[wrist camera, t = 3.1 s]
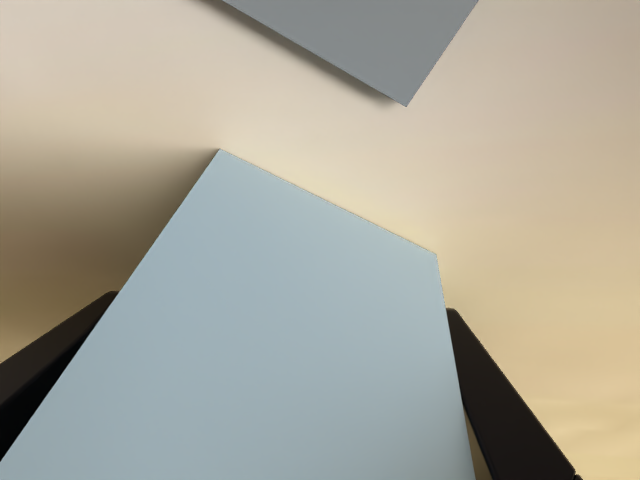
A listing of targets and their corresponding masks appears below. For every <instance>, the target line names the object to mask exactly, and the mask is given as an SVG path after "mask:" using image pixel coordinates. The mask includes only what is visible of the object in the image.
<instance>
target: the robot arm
mask: <svg viewBox="0 0 640 480" xmlns="http://www.w3.org/2000/svg"><path fill="white" fill-rule="evenodd" d="M119 292H120V291H110V292H108V293H106V294H104V295H103V296H101V297H100V298H98V299H97V300H95V301H94V302H92V303H91V304H89V305H88V306H86V307H85V308H83V309H82V310H80V311H79V312H77V313H76V314H74V315H73V316H71V317H70V318H68V319H67V320H65V321H64V322H62V323H61V324H59V325H58V326H56V327H55V328H53V329H52V330H50V331H49V332H47V333H46V334H44V335H43V336H41V337H40V338H38V339H37V340H35V341H34V342H32V343H31V344H29V345H28V346H26V347H25V348H23V349H22V350H20V351H19V352H17V353H16V354H14V355H13V356H11V357H10V358H8V359H7V360H5V361H4V362H2V363H1V364H0V462H1V460H2V459H3V457H4V456H5V454H6V453H7V452H8V450H9V449H10V447H11V446H12V444H13V443H14V442H15V440H16V439H17V437H18V436H19V434H20V433H21V432H22V430H23V429H24V427H25V426H26V425H27V423H28V422H29V420H30V419H31V417H32V416H33V415H34V413H35V412H36V410H37V409H38V407H39V406H40V405H41V403H42V402H43V400H44V399H45V397H46V396H47V395H48V393H49V392H50V390H51V389H52V387H53V386H54V385H55V383H56V382H57V380H58V379H59V377H60V376H61V375H62V373H63V372H64V370H65V369H66V368H67V366H68V365H69V363H70V362H71V360H72V359H73V358H74V356H75V355H76V353H77V352H78V350H79V349H80V348H81V346H82V345H83V343H84V342H85V340H86V339H87V338H88V336H89V335H90V333H91V332H92V330H93V329H94V328H95V326H96V325H97V323H98V322H99V320H100V319H101V318H102V316H103V315H104V313H105V312H106V310H107V309H108V308H109V306H110V305H111V303H112V302H113V301H114V299H115V298H116V296H117V295H118V293H119ZM446 313H447V319H448V325H449V331H450V336H451V342H452V348H453V353H454V359H455V365H456V371H457V376H458V382H459V388H460V393H461V399H462V405H463V410H464V416H465V422H466V428H467V433H468V439H469V445H470V450H471V456H472V462H473V468H474V473H475V479H476V480H583V479H582V478H581V476H580V475H577V474H576V475H575V473H576V471H575V469H574V467H573V466H572V465H571V463H570V462H569V461H568V459H567V458H566V457H565V455H564V454H563V453H562V451H561V450H560V449H559V447H558V446H557V445H556V443H555V442H554V441H553V439H552V438H551V437H550V435H549V434H548V433H547V431H546V430H545V428H544V427H543V426H542V424H541V423H540V422H539V420H538V419H537V418H536V416H535V415H534V414H533V412H532V411H531V410H530V408H529V407H528V406H527V404H526V403H525V402H524V400H523V399H522V398H521V396H520V395H519V394H518V392H517V391H516V390H515V388H514V387H513V386H512V384H511V383H510V382H509V380H508V379H507V378H506V376H505V375H504V374H503V372H502V371H501V370H500V368H499V367H498V366H497V364H496V363H495V362H494V360H493V359H492V358H491V356H490V355H489V353H488V352H487V351H486V349H485V348H484V347H483V345H482V344H481V343H480V341H479V340H478V339H477V337H476V336H475V335H474V333H473V332H472V331H471V329H470V328H469V327H468V325H467V324H466V323H465V321H464V320H463V319H462V317H461V316H460V315H459V313H458V312H457V311H456V310H455V309H453V308H446Z"/></svg>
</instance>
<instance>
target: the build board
mask: <svg viewBox="0 0 640 480" xmlns="http://www.w3.org/2000/svg"><path fill="white" fill-rule="evenodd" d="M222 1H224V2H226V3H227V4H229V5H231V6H233V7H234V8H236V9H238V10H240V11H241V12H243V13H245V14H246V15H248V16H250V17H252V18H253V19H255V20H257V21H259V22H260V23H262V24H264V25H265V26H267V27H269V28H271V29H272V30H274V31H276V32H277V33H279V34H281V35H283V36H284V37H286V38H288V39H290V40H291V41H293V42H295V43H296V44H298V45H300V46H302V47H303V48H305V49H307V50H309V51H310V52H312V53H314V54H315V55H317V56H319V57H321V58H322V59H324V60H326V61H328V62H329V63H331V64H333V65H334V66H336V67H338V68H340V69H341V70H343V71H345V72H346V73H348V74H350V75H352V76H353V77H355V78H357V79H359V80H360V81H362V82H364V83H365V84H367V85H369V86H371V87H372V88H374V89H376V90H378V91H379V92H381V93H383V94H384V95H386V96H388V97H390V98H391V99H393V100H395V101H397V102H398V103H400V104H402V105H403V106H405V107H407V105H408V104H409V102H410V101H411V99H412V98H413V96H414V95H415V93H416V92H417V90H418V89H419V88H420V86H421V85H422V83H423V82H424V80H425V79H426V77H427V76H428V74H429V73H430V71H431V70H432V68H433V67H434V65H435V64H436V62H437V61H438V59H439V58H440V56H441V55H442V53H443V52H444V51H445V49H446V48H447V46H448V45H449V43H450V42H451V40H452V39H453V37H454V36H455V34H456V33H457V31H458V30H459V28H460V27H461V25H462V24H463V22H464V21H465V19H466V18H467V17H468V15H469V14H470V12H471V11H472V9H473V8H474V6H475V5H476V3H477V2H478V0H222Z"/></svg>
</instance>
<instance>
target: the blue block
mask: <svg viewBox="0 0 640 480" xmlns="http://www.w3.org/2000/svg"><path fill="white" fill-rule="evenodd" d="M0 480H476V479H475V473H474V468H473V462H472V456H471V450H470V445H469V439H468V433H467V428H466V422H465V416H464V410H463V405H462V399H461V393H460V388H459V382H458V376H457V371H456V365H455V359H454V353H453V348H452V342H451V336H450V331H449V325H448V319H447V313H446V308H445V302H444V296H443V291H442V285H441V279H440V274H439V268H438V262H437V256H436V254H434V253H432V252H430V251H428V250H426V249H424V248H422V247H420V246H418V245H416V244H414V243H412V242H410V241H408V240H406V239H403V238H401V237H399V236H397V235H395V234H393V233H391V232H389V231H387V230H385V229H383V228H381V227H379V226H377V225H375V224H373V223H371V222H369V221H367V220H365V219H363V218H360V217H358V216H356V215H354V214H352V213H350V212H348V211H346V210H344V209H342V208H340V207H338V206H336V205H334V204H332V203H330V202H328V201H326V200H324V199H322V198H320V197H317V196H315V195H313V194H311V193H309V192H307V191H305V190H303V189H301V188H299V187H297V186H295V185H293V184H291V183H289V182H287V181H285V180H283V179H281V178H279V177H277V176H275V175H272V174H270V173H268V172H266V171H264V170H262V169H260V168H258V167H256V166H254V165H252V164H250V163H248V162H246V161H244V160H242V159H240V158H238V157H236V156H234V155H232V154H229V153H227V152H225V151H223V150H221V149H219V151H218V152H217V154H216V155H215V157H214V158H213V159H212V161H211V162H210V164H209V165H208V167H207V168H206V169H205V171H204V172H203V174H202V175H201V177H200V178H199V179H198V181H197V182H196V184H195V185H194V186H193V188H192V189H191V191H190V192H189V194H188V195H187V196H186V198H185V199H184V201H183V202H182V204H181V205H180V206H179V208H178V209H177V211H176V212H175V214H174V215H173V216H172V218H171V219H170V221H169V222H168V224H167V225H166V226H165V228H164V229H163V231H162V232H161V234H160V235H159V236H158V238H157V239H156V241H155V242H154V244H153V245H152V246H151V248H150V249H149V251H148V252H147V253H146V255H145V256H144V258H143V259H142V261H141V262H140V263H139V265H138V266H137V268H136V269H135V271H134V272H133V273H132V275H131V276H130V278H129V279H128V281H127V282H126V283H125V285H124V286H123V288H122V289H121V291H120V292H119V293H118V295H117V296H116V298H115V299H114V301H113V302H112V303H111V305H110V306H109V308H108V309H107V310H106V312H105V313H104V315H103V316H102V318H101V319H100V320H99V322H98V323H97V325H96V326H95V328H94V329H93V330H92V332H91V333H90V335H89V336H88V338H87V339H86V340H85V342H84V343H83V345H82V346H81V348H80V349H79V350H78V352H77V353H76V355H75V356H74V358H73V359H72V360H71V362H70V363H69V365H68V366H67V368H66V369H65V370H64V372H63V373H62V375H61V376H60V377H59V379H58V380H57V382H56V383H55V385H54V386H53V387H52V389H51V390H50V392H49V393H48V395H47V396H46V397H45V399H44V400H43V402H42V403H41V405H40V406H39V407H38V409H37V410H36V412H35V413H34V415H33V416H32V417H31V419H30V420H29V422H28V423H27V425H26V426H25V427H24V429H23V430H22V432H21V433H20V434H19V436H18V437H17V439H16V440H15V442H14V443H13V444H12V446H11V447H10V449H9V450H8V452H7V453H6V454H5V456H4V457H3V459H2V460H1V462H0Z"/></svg>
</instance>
